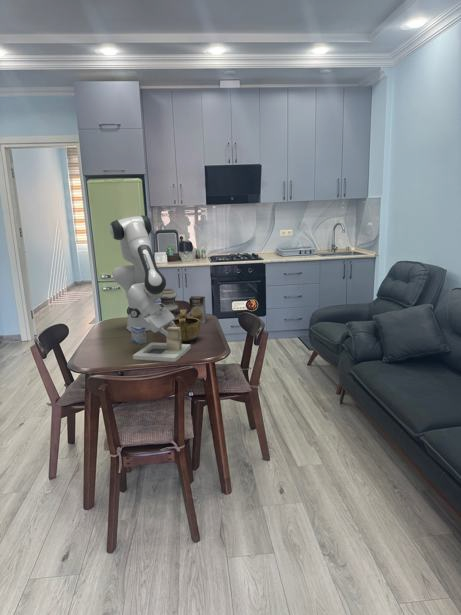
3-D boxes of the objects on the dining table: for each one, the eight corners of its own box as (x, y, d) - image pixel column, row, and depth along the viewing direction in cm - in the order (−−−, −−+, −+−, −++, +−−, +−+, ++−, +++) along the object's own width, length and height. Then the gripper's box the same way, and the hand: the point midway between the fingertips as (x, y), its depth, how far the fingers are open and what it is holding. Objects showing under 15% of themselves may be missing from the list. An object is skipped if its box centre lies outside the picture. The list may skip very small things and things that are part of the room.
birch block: (170, 348, 207) (168, 326, 205) (181, 348, 206) (180, 327, 203) (167, 350, 204) (165, 329, 201) (178, 351, 202) (177, 329, 199)
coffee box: (190, 323, 260) (188, 298, 257) (192, 320, 267) (190, 296, 263) (204, 323, 259) (203, 298, 255) (206, 320, 265) (205, 296, 262)
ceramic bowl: (170, 335, 237) (168, 309, 234) (200, 333, 238) (199, 308, 235) (168, 347, 215) (165, 319, 212) (201, 345, 216) (199, 317, 213)
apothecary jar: (161, 318, 276) (159, 292, 272) (159, 314, 287) (157, 288, 283) (179, 316, 278) (177, 290, 274) (177, 312, 290) (175, 287, 286)
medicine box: (131, 342, 228) (130, 326, 226) (138, 340, 231) (137, 325, 229) (139, 344, 223) (138, 329, 221) (146, 342, 226) (145, 327, 224)
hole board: (151, 346, 219) (151, 341, 219) (190, 348, 213) (190, 343, 213) (133, 359, 201) (132, 354, 200) (175, 361, 195) (175, 357, 194)
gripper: (146, 313, 192) (167, 334, 192) (164, 303, 212) (184, 322, 211) (138, 322, 195) (159, 343, 194) (157, 311, 214) (176, 330, 213)
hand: (172, 332), depth 203 cm, fingers open, 8 cm apart
